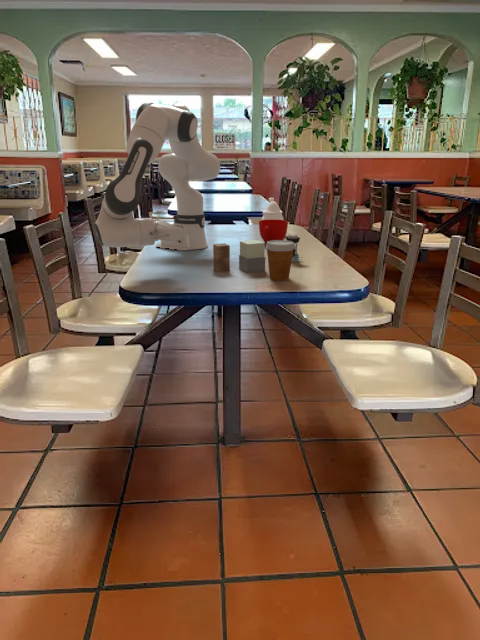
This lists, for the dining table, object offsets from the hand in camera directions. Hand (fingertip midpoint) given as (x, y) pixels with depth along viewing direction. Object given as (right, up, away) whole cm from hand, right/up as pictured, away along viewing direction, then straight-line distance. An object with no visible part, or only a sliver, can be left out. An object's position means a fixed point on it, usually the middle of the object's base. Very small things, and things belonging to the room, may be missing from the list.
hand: (187, 229), depth 166 cm
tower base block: (+22, -12, +11) cm, 27 cm away
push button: (+38, -8, +24) cm, 46 cm away
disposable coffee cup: (+31, -17, -1) cm, 35 cm away
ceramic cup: (+32, +4, +58) cm, 67 cm away
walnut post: (+11, -13, +10) cm, 19 cm away
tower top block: (+22, -8, +9) cm, 25 cm away
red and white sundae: (+34, +12, +83) cm, 90 cm away
